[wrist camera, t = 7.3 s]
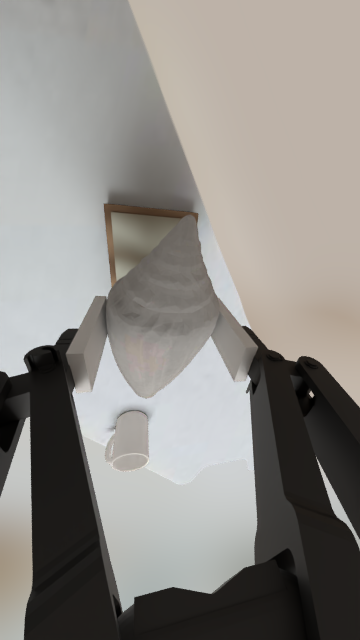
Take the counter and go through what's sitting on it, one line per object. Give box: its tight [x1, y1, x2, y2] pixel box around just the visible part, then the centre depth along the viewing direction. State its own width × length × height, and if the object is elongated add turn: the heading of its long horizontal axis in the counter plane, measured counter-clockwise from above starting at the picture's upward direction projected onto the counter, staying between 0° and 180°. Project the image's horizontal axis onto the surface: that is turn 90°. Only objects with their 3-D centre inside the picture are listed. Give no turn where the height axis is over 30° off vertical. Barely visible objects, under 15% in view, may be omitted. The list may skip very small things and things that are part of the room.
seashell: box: [106, 214, 220, 398], centre depth 16 cm, size 9×11×15 cm
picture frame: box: [104, 204, 198, 287], centre depth 29 cm, size 14×12×3 cm
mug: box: [105, 411, 149, 472], centre depth 47 cm, size 12×8×10 cm
